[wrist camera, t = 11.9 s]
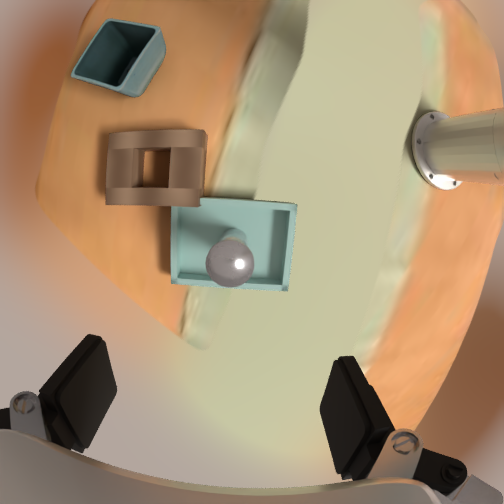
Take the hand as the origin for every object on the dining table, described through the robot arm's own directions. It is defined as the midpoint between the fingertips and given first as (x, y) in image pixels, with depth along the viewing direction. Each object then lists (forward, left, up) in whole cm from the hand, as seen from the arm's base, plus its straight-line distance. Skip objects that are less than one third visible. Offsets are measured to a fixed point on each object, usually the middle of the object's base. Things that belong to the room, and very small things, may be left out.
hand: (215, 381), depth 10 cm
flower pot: (+15, -23, -27) cm, 39 cm away
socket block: (+10, -9, -27) cm, 30 cm away
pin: (0, 0, -26) cm, 26 cm away
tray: (0, 0, -27) cm, 27 cm away
